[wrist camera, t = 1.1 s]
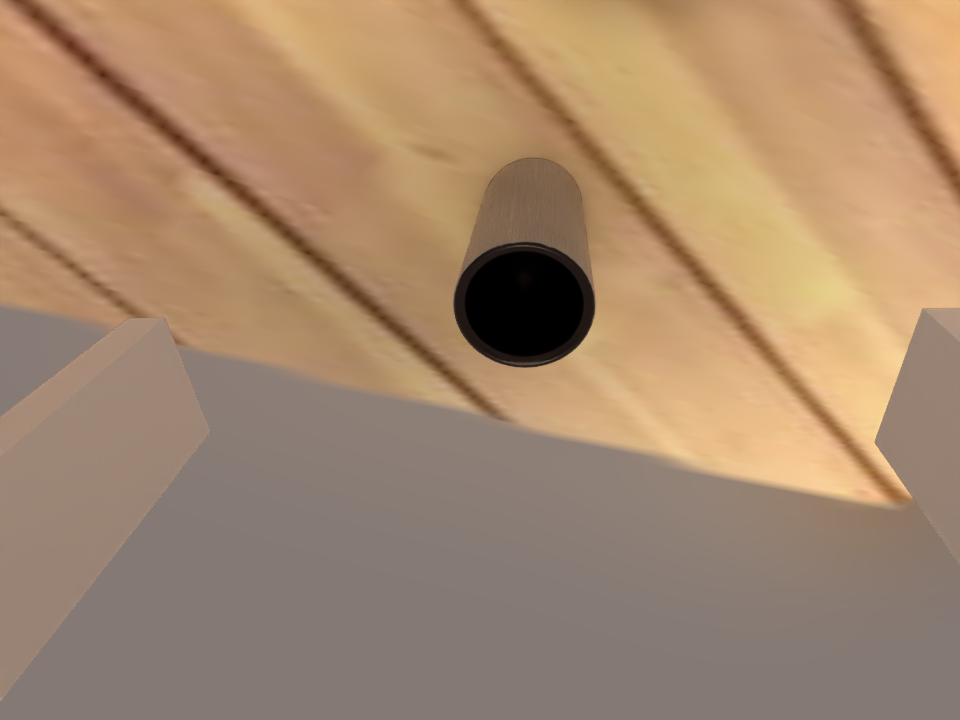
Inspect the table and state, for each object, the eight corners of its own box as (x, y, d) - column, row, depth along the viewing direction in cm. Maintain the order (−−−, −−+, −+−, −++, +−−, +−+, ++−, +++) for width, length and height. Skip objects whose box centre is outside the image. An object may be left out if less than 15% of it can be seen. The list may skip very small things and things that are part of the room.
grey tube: (464, 210, 28) (424, 312, 19) (529, 134, 26) (518, 211, 17) (534, 270, 29) (527, 392, 20) (602, 203, 27) (626, 307, 18)
